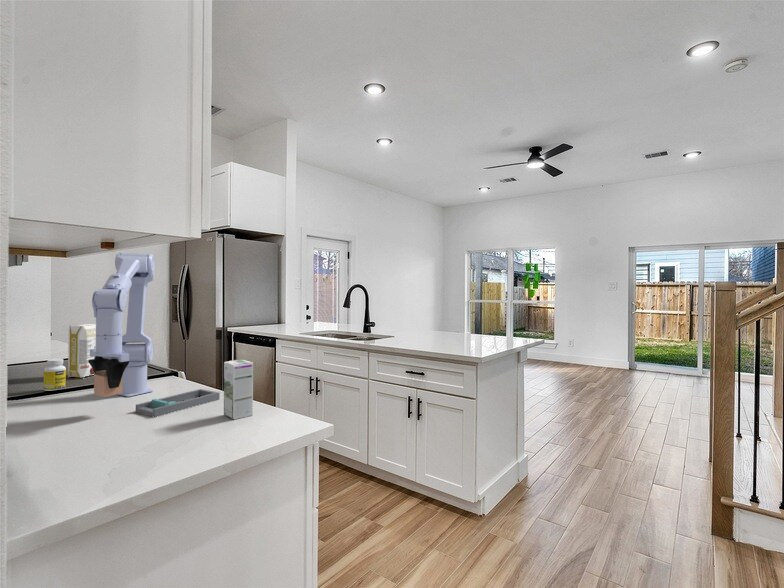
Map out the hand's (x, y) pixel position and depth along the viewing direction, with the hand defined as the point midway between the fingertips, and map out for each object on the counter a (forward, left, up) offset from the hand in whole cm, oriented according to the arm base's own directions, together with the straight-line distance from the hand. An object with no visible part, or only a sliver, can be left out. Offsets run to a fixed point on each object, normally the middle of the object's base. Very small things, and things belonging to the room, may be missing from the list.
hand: (108, 386), depth 106 cm
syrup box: (+29, +17, -8) cm, 34 cm away
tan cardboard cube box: (0, 0, -2) cm, 2 cm away
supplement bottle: (-39, +5, -8) cm, 40 cm away
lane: (+8, +15, -7) cm, 18 cm away
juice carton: (-53, +20, -8) cm, 57 cm away
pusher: (+8, +11, -7) cm, 15 cm away
